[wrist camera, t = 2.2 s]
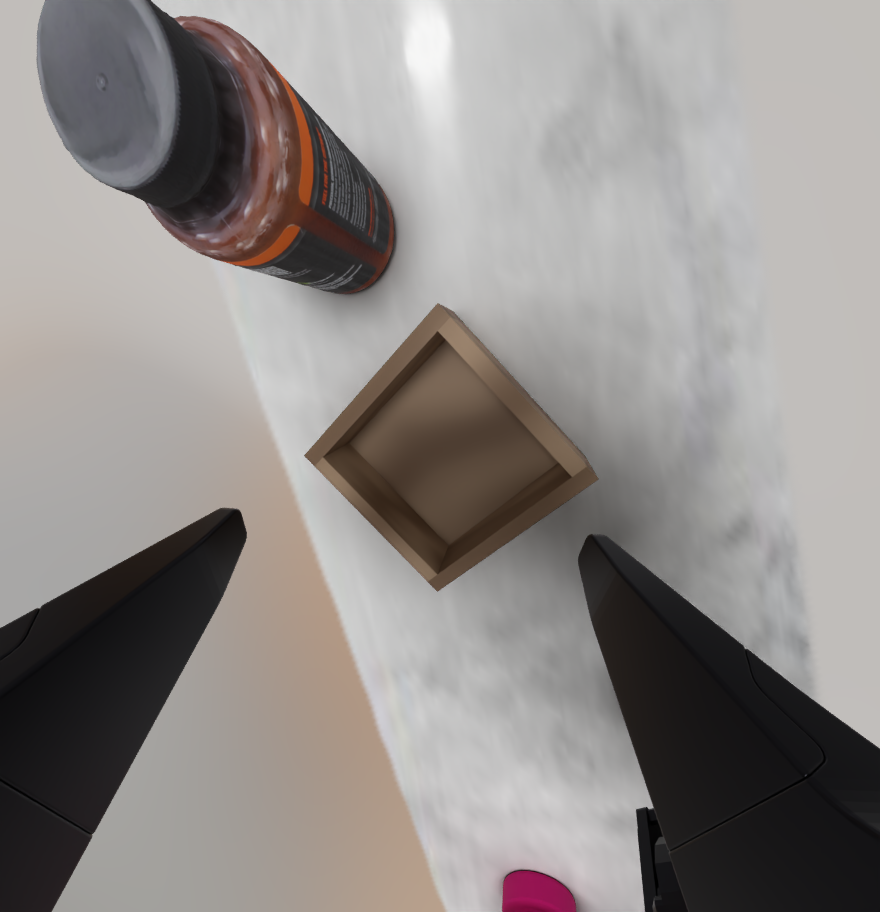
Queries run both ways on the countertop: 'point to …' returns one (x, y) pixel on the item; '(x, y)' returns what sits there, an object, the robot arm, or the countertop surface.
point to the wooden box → (448, 452)
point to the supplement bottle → (211, 142)
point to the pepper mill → (535, 894)
